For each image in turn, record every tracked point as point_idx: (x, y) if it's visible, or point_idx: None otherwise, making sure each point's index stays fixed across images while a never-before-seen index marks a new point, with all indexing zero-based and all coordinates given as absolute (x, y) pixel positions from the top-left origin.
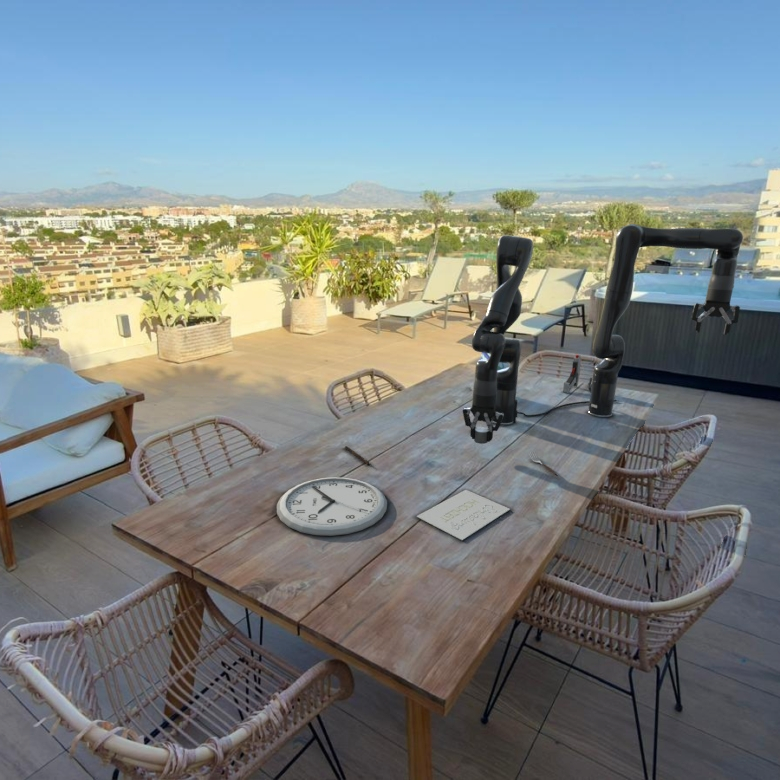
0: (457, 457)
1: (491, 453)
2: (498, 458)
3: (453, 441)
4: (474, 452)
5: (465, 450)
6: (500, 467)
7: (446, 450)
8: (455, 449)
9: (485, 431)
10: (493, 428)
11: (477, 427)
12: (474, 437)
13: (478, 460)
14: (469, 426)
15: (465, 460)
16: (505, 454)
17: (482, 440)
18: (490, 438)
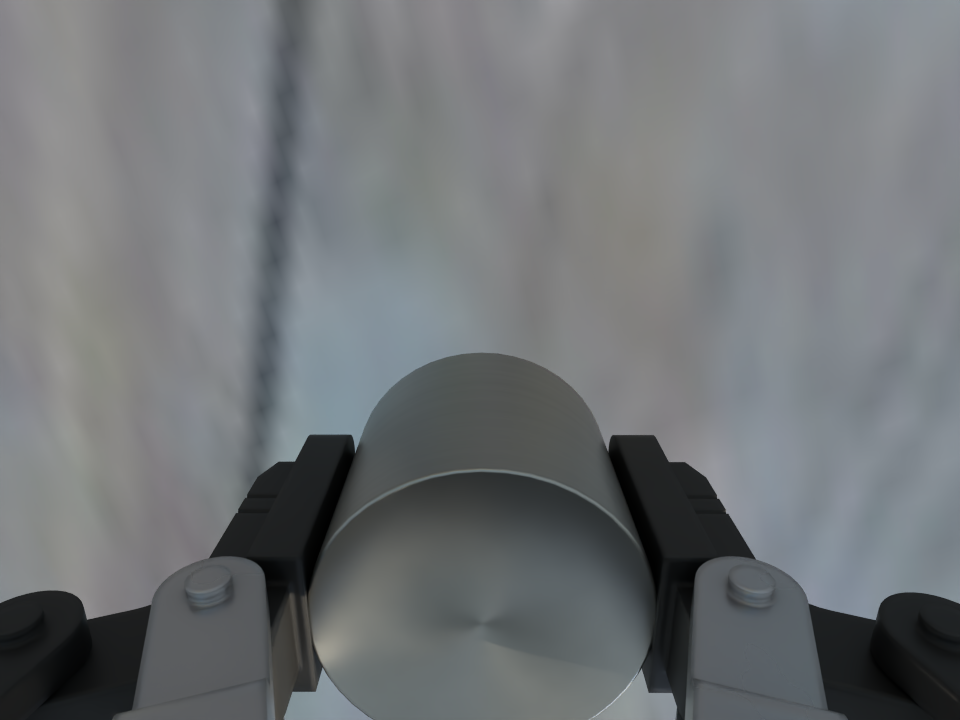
0: (758, 98)
1: (346, 433)
2: (213, 325)
3: (873, 569)
4: (558, 372)
5: (684, 382)
6: (69, 28)
7: (945, 273)
8: (821, 357)
9: (365, 559)
10: (115, 665)
11: (614, 696)
12: (607, 451)
13: (440, 134)
14: (831, 616)
15: (622, 41)
16: (182, 475)
17: (423, 386)
18: (278, 483)
